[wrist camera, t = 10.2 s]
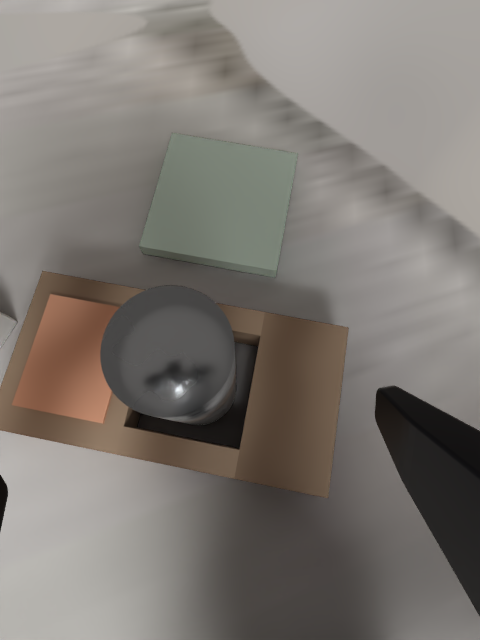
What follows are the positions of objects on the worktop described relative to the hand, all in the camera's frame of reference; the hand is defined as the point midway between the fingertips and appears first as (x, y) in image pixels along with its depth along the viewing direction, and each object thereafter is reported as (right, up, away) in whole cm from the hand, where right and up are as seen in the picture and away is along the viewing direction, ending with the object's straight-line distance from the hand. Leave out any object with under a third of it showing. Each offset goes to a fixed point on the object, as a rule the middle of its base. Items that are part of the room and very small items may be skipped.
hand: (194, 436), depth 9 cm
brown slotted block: (-2, -1, +12) cm, 12 cm away
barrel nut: (-1, -1, +12) cm, 12 cm away
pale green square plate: (0, +10, +15) cm, 18 cm away
